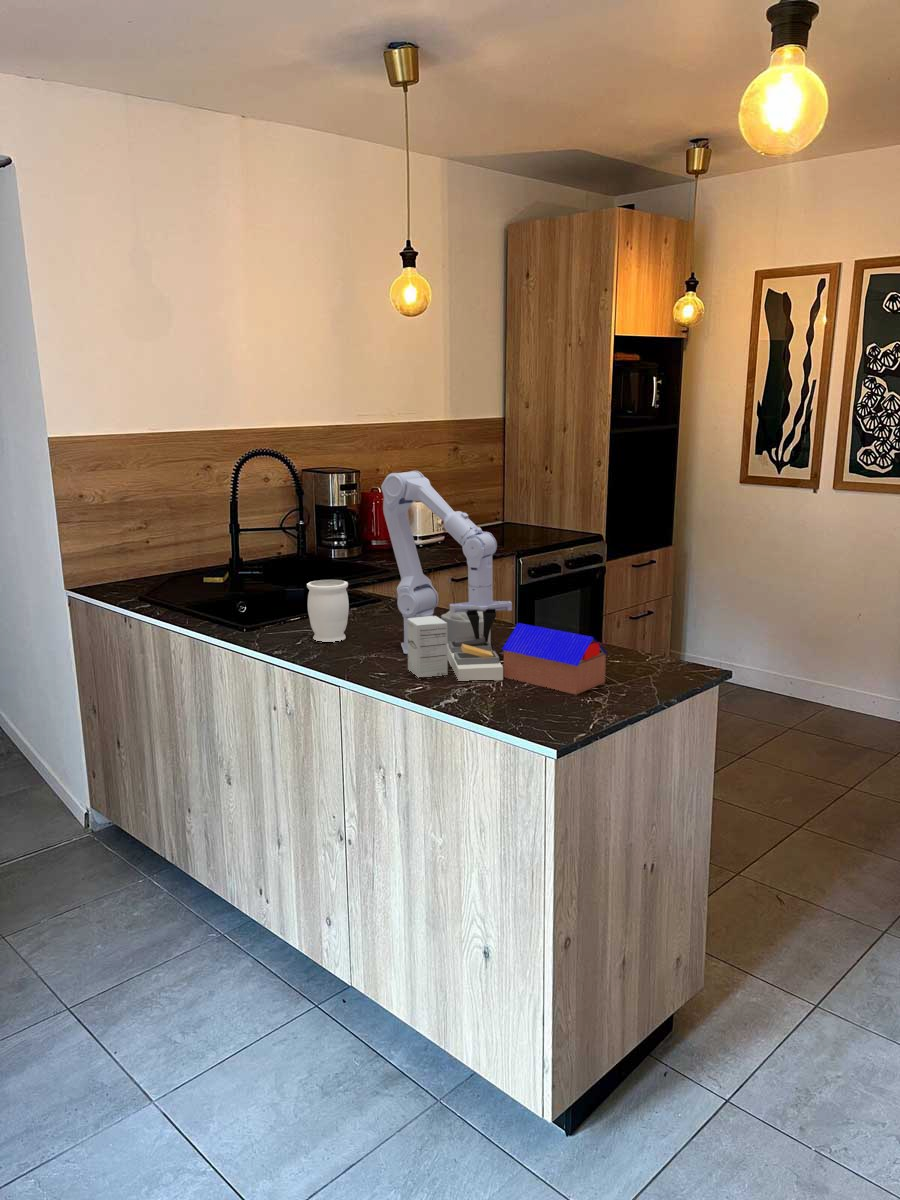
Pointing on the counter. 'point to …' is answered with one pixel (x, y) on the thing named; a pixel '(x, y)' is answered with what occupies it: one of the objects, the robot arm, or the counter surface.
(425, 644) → the supplement box
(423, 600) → the robot arm
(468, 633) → the lumpy-topped squat cylinder
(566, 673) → the house
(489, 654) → the amber rocker
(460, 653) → the cream switch panel
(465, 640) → the charcoal rocker
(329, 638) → the jar
